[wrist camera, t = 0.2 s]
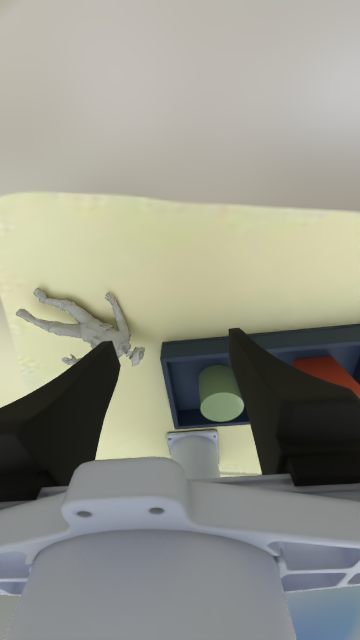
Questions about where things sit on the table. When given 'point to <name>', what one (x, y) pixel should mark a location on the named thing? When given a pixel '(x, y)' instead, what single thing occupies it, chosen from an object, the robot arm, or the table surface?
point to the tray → (195, 355)
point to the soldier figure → (87, 327)
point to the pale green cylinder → (219, 394)
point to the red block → (327, 371)
